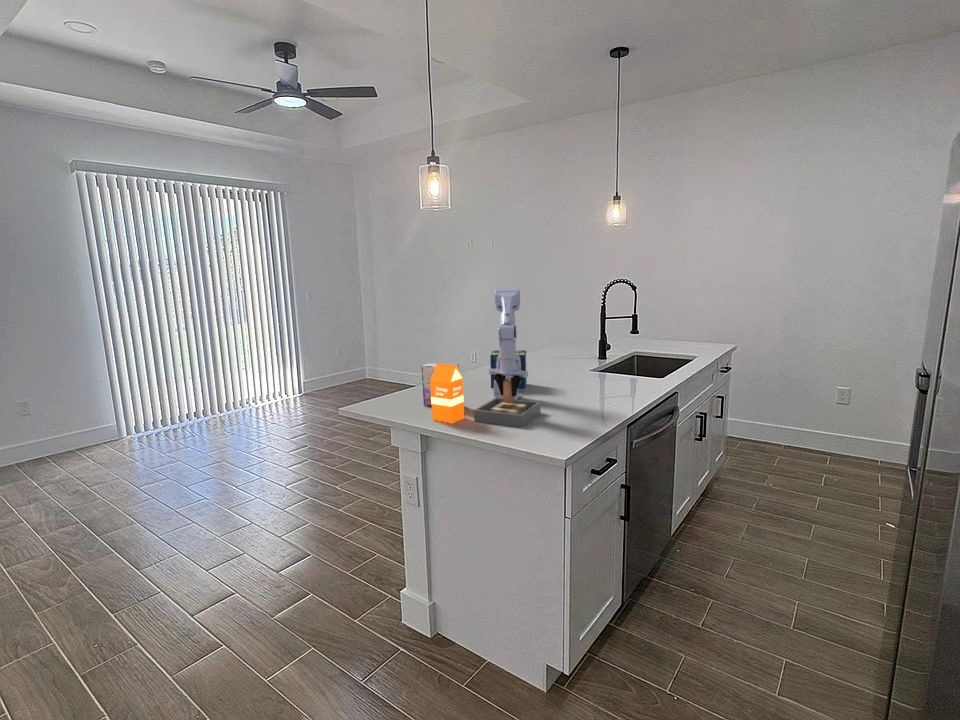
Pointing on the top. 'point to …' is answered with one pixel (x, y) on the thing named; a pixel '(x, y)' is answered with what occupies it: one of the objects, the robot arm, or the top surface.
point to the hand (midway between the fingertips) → (508, 395)
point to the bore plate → (509, 408)
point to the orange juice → (447, 393)
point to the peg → (507, 391)
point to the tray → (505, 418)
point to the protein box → (523, 366)
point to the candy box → (428, 381)
